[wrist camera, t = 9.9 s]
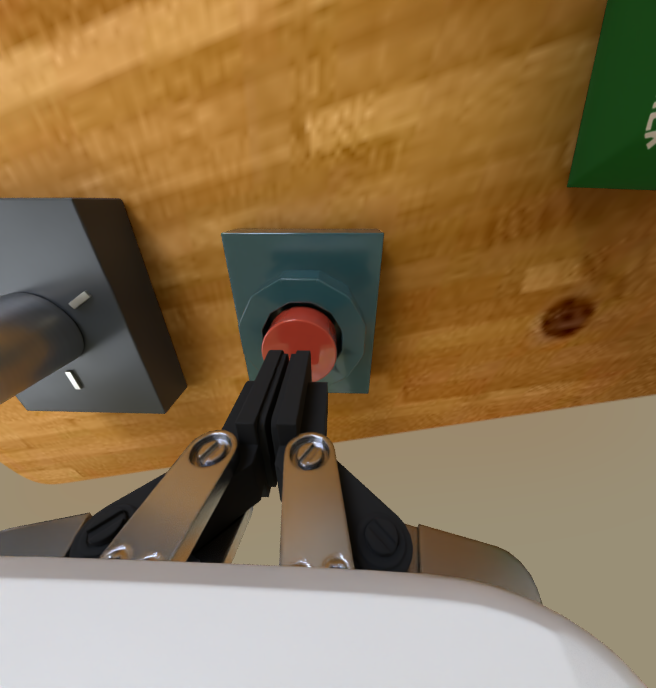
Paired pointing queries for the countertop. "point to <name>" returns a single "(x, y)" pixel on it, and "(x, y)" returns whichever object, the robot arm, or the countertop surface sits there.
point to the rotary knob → (33, 341)
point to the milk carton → (620, 103)
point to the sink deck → (91, 304)
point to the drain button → (304, 337)
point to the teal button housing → (309, 290)
